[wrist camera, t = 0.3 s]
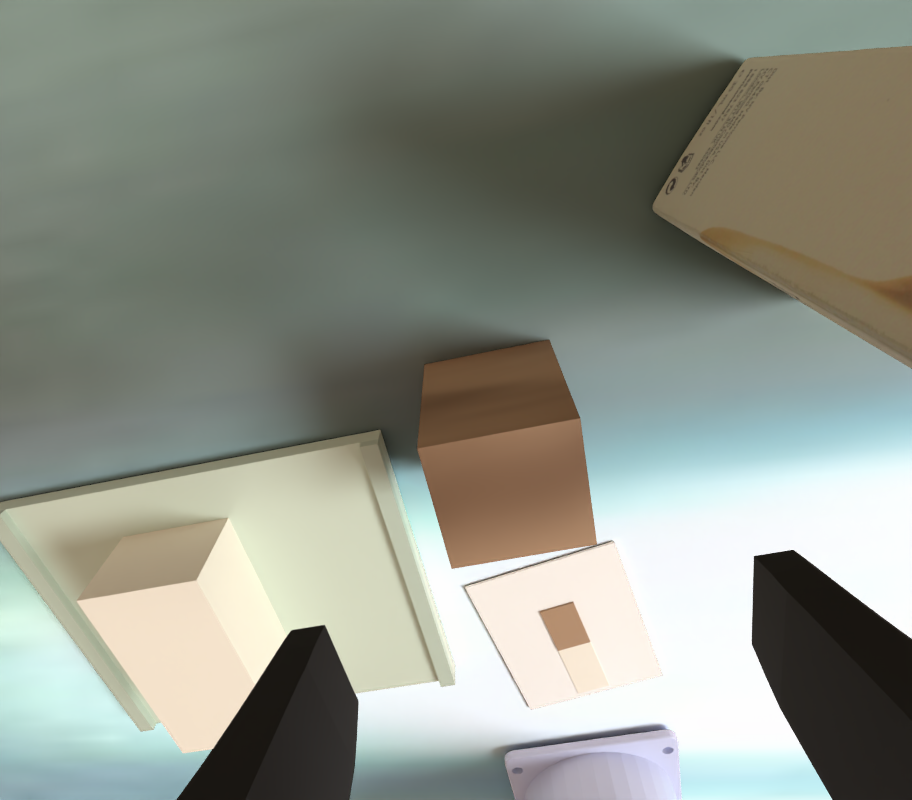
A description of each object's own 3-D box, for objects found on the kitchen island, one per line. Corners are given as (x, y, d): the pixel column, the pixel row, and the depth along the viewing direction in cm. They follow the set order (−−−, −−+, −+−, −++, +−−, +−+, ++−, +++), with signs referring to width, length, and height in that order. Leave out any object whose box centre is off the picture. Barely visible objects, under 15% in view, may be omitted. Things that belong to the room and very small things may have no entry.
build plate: (455, 666, 25) (455, 684, 25) (150, 712, 27) (140, 731, 26) (380, 429, 20) (377, 443, 19) (1, 502, 21) (-17, 518, 20)
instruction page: (661, 673, 26) (663, 677, 26) (530, 707, 27) (531, 711, 27) (613, 541, 22) (615, 544, 22) (465, 586, 23) (465, 589, 23)
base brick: (302, 668, 25) (285, 738, 22) (211, 682, 25) (183, 753, 22) (228, 517, 21) (196, 580, 18) (122, 536, 21) (76, 601, 19)
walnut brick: (565, 445, 20) (596, 544, 16) (451, 466, 21) (452, 568, 16) (549, 339, 19) (580, 418, 14) (424, 364, 19) (417, 448, 15)
